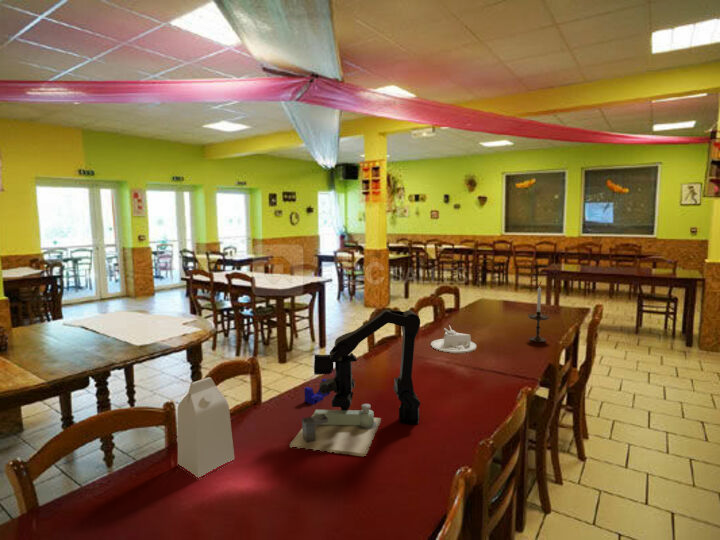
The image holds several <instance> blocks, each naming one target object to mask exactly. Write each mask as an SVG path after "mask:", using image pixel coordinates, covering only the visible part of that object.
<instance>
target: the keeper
mask: <svg viewBox="0 0 720 540" xmlns="http://www.w3.org/2000/svg"><path fill="white" fill-rule="evenodd" d="M311 416H312V415H311ZM311 416H307V417H302V418H301V426H302V427H301V429H303V438H304V440H305V441H306V443H308V442H312V441H316V440H315V425H318V424H323V423H327V422H328V418H327V417H326V416H325V415H324V414H321V415H316V416H312V417H311Z"/></svg>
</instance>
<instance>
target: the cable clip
mask: <svg viewBox="0 0 720 540" xmlns="http://www.w3.org/2000/svg"><path fill="white" fill-rule="evenodd" d="M325 380H328V378H323V379H321V382H322V381H325ZM330 393H331V392H328V393H326V394H324V395H323V394H322V392H320V388H319V389H318V390H317V392H315V393H314V390H313V387H309V386H306V387H304V402H305V403H306V402H307V404H310V405H313V406H314V405H315V404H317V403H320V402H322V401H323V400H324V397H326V396H328V395H329V394H330Z"/></svg>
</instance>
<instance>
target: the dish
mask: <svg viewBox="0 0 720 540" xmlns="http://www.w3.org/2000/svg"><path fill="white" fill-rule="evenodd" d="M448 326H449V330H448V329H447V328H446V327H444V328H443V330H444V331H445V333H444V335H443V338H440V339H434V340H433V341H431V343H430V347H431V346H432V347H431V349H433V348H434V350H435V349H436V351H438V350H439V352H442V351H443V353H447V352H449V353H448V354H465V353H466V352H467V353H472V352H473V350H474V351H475V350H476V349H477V344H476V343H475V342H473V341H472V340H471V334H468V333H461V332H456V330H454V329H452V327H451V325H450V324H448Z"/></svg>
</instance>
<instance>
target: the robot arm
mask: <svg viewBox="0 0 720 540" xmlns="http://www.w3.org/2000/svg"><path fill="white" fill-rule="evenodd" d="M387 324H392V325H396V326H400V327H401V332H402V343H401V355H400V369H399V375H398V377H393V378H394V385H393V386H392V388H393V391H394V393H395V395H396V397H397V399H398V400H399V402H400V405H399V407H398V418H399V423H401V424H411V425H418V424H419V421H420V418H419V417H420V405H421V401H420V398H419V397H418V395H417V394H416V392H415V390H414V389H415V388H414V384H413V377H412V375H413V362H414V354H415V352H414V351H415V340H416V337H417V335H418V333H419V329H420V326H421V319H420V317H419V315H417V313H415V312H414V311H413V310H410V309H409V310H408V309H407V310H405V311H401V310H391V309H386V308H385V309H383V310H381V312H380V313H378V314H377V315H375V316H374V317H373V318H371V319H369V320H368V321H366V322H365V323H364V324H362V325H361V326H360V327H358V328H357V329H355V330H353V331H351V332H347V333H344V334H342V335H340V336H337V338H335V340H334V346H333V347H332V348H331V350H330V351H329V354H314V358H313V359H314V362H313V373H314V375H315V376H316V375H331V374H332V373H333V372H334V368H335V372H334V373H335V375H334V377H331V378H327V380H325V381H322V380H321V382H320V383H319V387H318V388H319V389H320V392H322V394H323V395H324V394H326V393H328V392H330V393H331V392H333V394H334V395H333V396H332V399H331V408H332V407H333V408H340V410H349V409H350V407H351V405H352V400H353V395H354V392H353V389H355V385H356V384H355V379H354V378H353V373H352V370H353V367H352V363H353V362H357V361H358V359H357V356H356V355H355V354H354V353H353V351H354V350H355V349H356V348H357V347H358V345H360V343H361V342H363V341H364V340H365V339H367V338H368V337H369V336H371V335H372V334H374V333H376V332H377V331H379V330H380V329H381V328H383V327H384V326H386V325H387ZM335 393H336V394H335Z"/></svg>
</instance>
